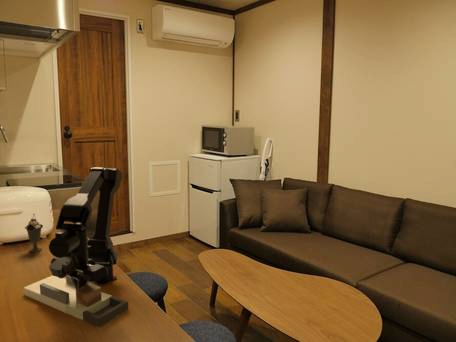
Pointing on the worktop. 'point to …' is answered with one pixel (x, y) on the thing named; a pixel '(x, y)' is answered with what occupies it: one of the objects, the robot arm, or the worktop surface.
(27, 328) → the worktop surface
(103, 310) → the tray
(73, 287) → the deck
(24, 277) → the worktop surface
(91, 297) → the walnut block
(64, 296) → the lane walls
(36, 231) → the sundae
